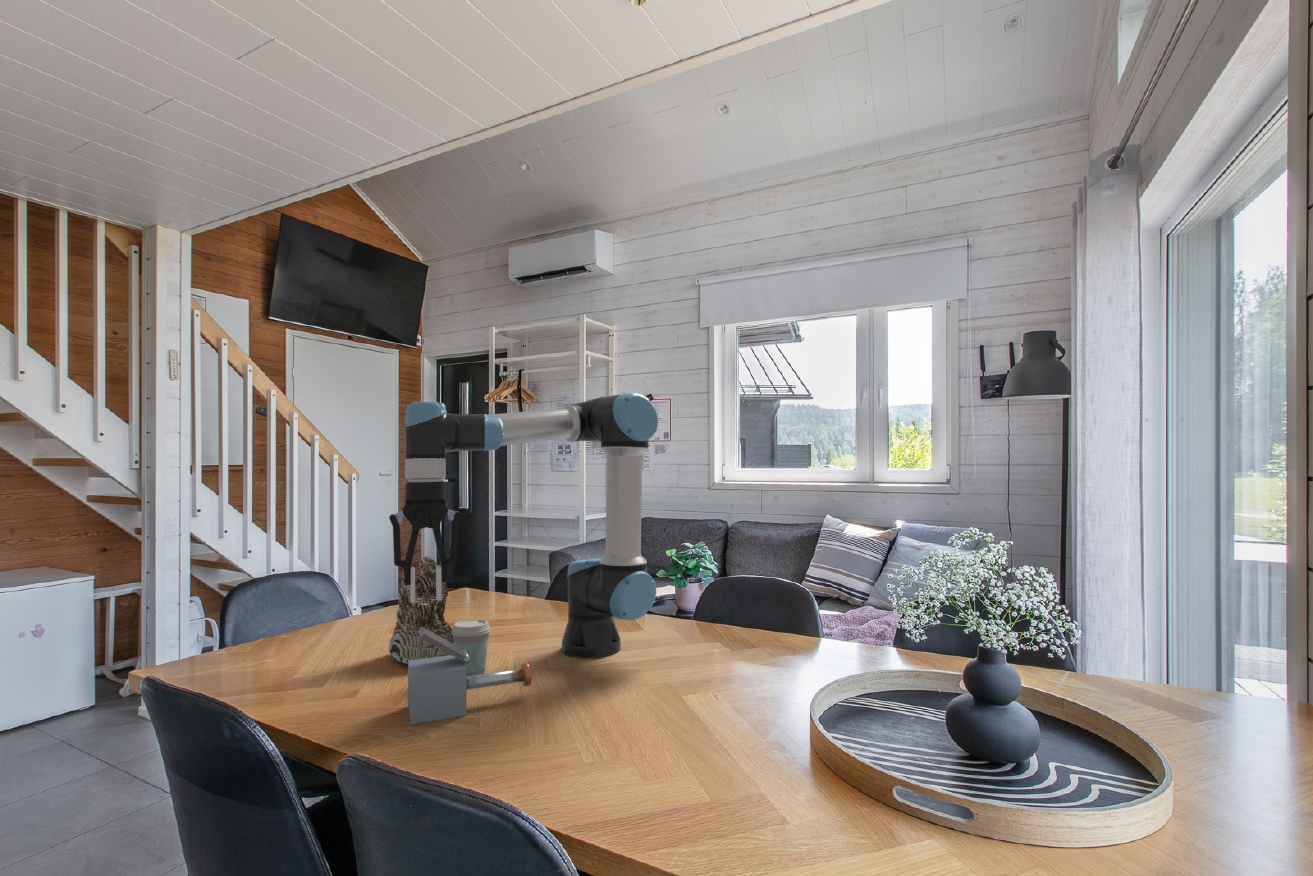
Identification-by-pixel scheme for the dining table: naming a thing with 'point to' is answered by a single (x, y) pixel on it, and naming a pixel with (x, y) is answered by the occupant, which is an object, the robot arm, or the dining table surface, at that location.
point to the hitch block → (436, 689)
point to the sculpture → (420, 617)
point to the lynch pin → (501, 678)
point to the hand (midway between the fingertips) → (425, 600)
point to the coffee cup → (473, 643)
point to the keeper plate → (444, 645)
